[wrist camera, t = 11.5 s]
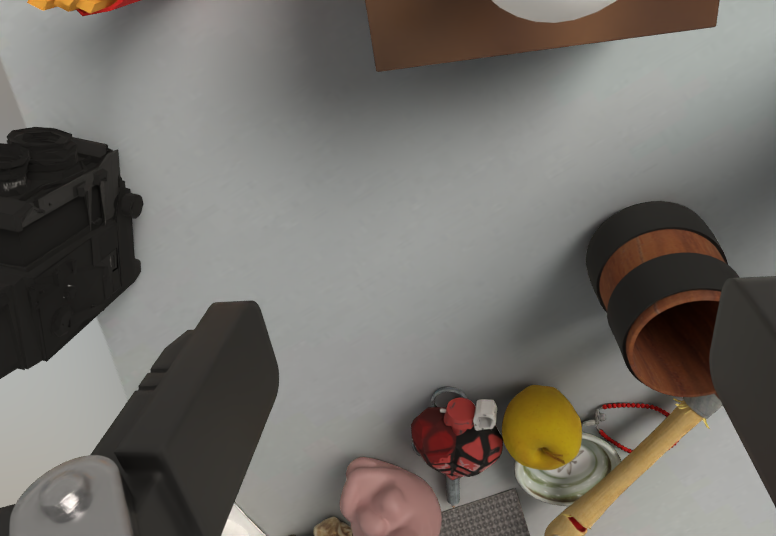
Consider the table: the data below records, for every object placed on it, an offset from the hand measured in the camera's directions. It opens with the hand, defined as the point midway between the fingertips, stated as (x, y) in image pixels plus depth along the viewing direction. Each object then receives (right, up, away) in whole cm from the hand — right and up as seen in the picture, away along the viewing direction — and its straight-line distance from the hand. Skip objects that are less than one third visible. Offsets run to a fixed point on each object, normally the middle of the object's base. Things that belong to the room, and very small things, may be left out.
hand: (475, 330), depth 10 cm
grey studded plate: (+6, -29, +48) cm, 57 cm away
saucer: (+15, -16, +45) cm, 50 cm away
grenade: (+5, -18, +43) cm, 47 cm away
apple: (+12, -10, +41) cm, 44 cm away
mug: (+19, +1, +33) cm, 38 cm away
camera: (-26, +7, +36) cm, 45 cm away
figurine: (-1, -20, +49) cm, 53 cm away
